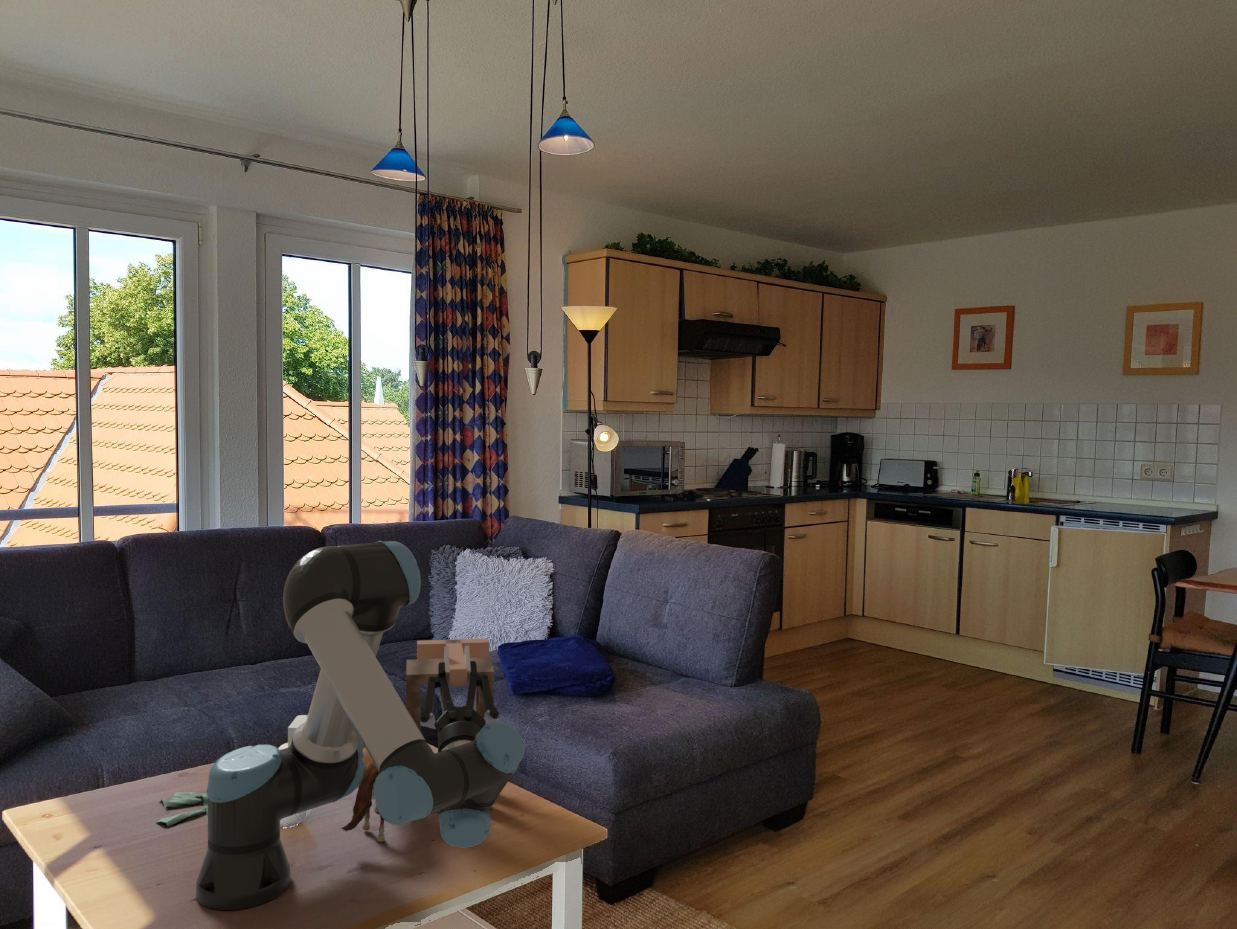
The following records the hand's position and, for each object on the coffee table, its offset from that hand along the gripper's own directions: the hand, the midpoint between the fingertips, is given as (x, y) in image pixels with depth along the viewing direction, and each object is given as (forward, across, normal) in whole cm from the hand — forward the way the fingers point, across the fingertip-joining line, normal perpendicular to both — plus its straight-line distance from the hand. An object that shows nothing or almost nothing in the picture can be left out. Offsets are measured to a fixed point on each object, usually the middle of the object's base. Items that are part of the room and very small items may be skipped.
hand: (456, 651), depth 164 cm
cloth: (+8, -53, -51) cm, 74 cm away
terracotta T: (+1, 0, -5) cm, 5 cm away
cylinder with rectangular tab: (+23, -33, -59) cm, 71 cm away
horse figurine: (-3, -17, -45) cm, 48 cm away
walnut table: (+3, 0, -48) cm, 48 cm away
